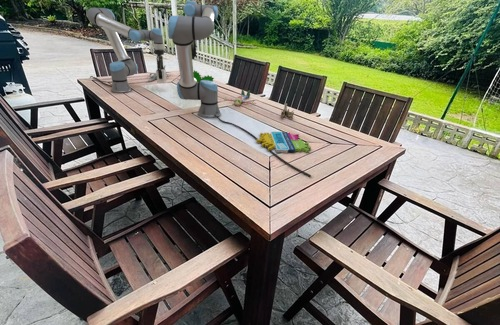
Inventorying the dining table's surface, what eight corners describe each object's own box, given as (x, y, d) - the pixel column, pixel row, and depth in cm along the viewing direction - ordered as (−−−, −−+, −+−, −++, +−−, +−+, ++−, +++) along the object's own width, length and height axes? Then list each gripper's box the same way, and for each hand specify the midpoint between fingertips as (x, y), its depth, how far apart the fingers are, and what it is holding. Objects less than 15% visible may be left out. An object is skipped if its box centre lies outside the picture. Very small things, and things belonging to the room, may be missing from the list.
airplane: (140, 75, 284) (139, 65, 279) (170, 73, 298) (169, 64, 293) (146, 83, 256) (144, 73, 251) (178, 81, 269) (177, 71, 264)
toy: (261, 91, 228) (254, 99, 202) (261, 99, 231) (253, 108, 205) (231, 87, 233) (220, 95, 207) (230, 95, 236) (219, 104, 210)
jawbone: (291, 106, 199) (293, 98, 190) (292, 123, 193) (294, 114, 184) (278, 106, 199) (280, 97, 190) (279, 122, 193) (281, 114, 184)
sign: (313, 150, 142) (258, 149, 139) (312, 153, 143) (258, 152, 140) (301, 132, 164) (254, 130, 161) (301, 134, 165) (254, 133, 162)
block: (166, 81, 232) (165, 69, 227) (165, 83, 226) (164, 70, 221) (158, 81, 231) (157, 69, 226) (157, 82, 225) (155, 70, 220)
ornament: (208, 92, 257) (212, 77, 255) (210, 92, 249) (214, 76, 248) (188, 85, 249) (191, 70, 247) (189, 85, 241) (193, 69, 239)
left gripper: (156, 47, 223) (159, 75, 235) (151, 50, 207) (154, 80, 218) (165, 48, 224) (167, 75, 236) (161, 51, 208) (163, 80, 219)
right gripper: (189, 25, 197) (190, 55, 208) (184, 26, 176) (186, 60, 186) (199, 25, 198) (200, 55, 208) (195, 27, 176) (196, 60, 187)
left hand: (161, 77), depth 227 cm, fingers closed on block, 6 cm apart
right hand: (193, 57), depth 197 cm, fingers open, 13 cm apart
